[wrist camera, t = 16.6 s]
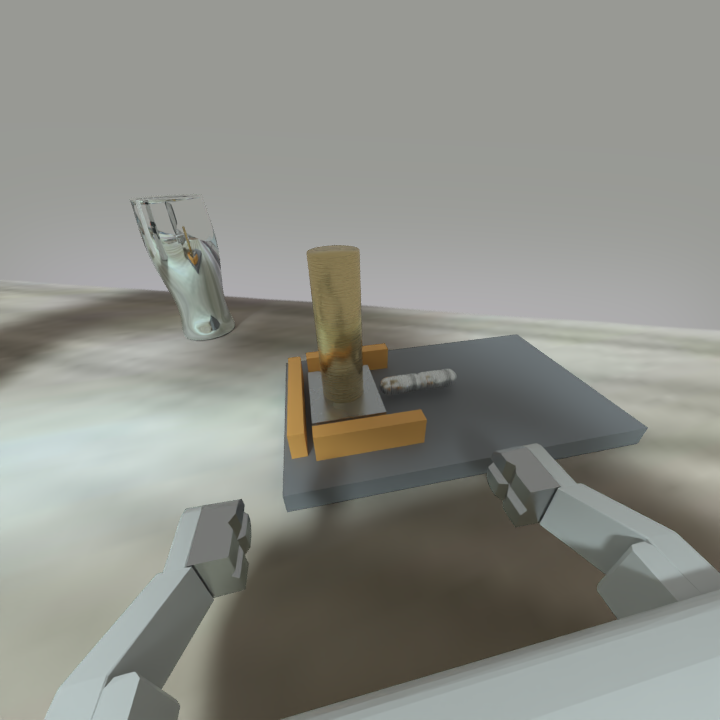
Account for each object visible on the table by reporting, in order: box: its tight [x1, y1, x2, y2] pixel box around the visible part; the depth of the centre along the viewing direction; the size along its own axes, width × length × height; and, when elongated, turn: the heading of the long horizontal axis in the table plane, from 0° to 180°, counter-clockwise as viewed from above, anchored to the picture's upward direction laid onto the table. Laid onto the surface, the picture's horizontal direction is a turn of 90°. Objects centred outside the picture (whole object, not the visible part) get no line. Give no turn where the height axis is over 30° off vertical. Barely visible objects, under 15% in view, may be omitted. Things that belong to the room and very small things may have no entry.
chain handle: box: [307, 245, 457, 426], centre depth 20 cm, size 12×6×11 cm, turn 101°
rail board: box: [283, 335, 648, 512], centre depth 24 cm, size 24×14×4 cm, turn 101°
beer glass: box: [130, 194, 235, 340], centre depth 34 cm, size 7×7×15 cm
